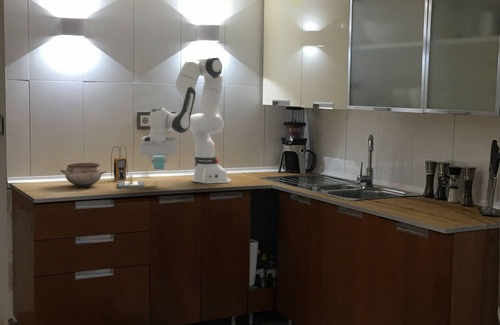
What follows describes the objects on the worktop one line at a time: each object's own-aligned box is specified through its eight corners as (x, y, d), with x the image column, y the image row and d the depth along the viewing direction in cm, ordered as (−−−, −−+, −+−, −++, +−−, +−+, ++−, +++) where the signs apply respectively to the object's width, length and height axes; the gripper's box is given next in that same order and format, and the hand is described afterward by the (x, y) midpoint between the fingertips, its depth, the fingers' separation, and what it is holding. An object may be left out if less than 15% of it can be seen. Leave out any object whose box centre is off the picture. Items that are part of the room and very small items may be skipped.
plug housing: (162, 166, 376) (162, 155, 375) (163, 169, 365) (163, 158, 364) (153, 166, 375) (153, 155, 374) (154, 169, 364) (154, 158, 363)
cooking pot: (110, 184, 372) (110, 162, 370) (103, 189, 353) (103, 166, 351) (64, 183, 371) (64, 161, 370) (55, 188, 353) (54, 165, 351)
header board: (143, 183, 378) (144, 173, 378) (144, 188, 361) (144, 178, 360) (118, 183, 376) (118, 173, 375) (118, 188, 358) (118, 178, 357)
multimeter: (120, 183, 376) (120, 147, 374) (108, 181, 382) (108, 146, 380) (140, 181, 388) (140, 146, 386) (128, 179, 394) (128, 144, 392)
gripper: (176, 136, 373) (177, 161, 375) (139, 137, 369) (139, 162, 371) (177, 138, 367) (178, 163, 368) (139, 138, 363) (139, 164, 365)
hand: (158, 163), depth 370 cm, fingers closed on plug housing, 5 cm apart
